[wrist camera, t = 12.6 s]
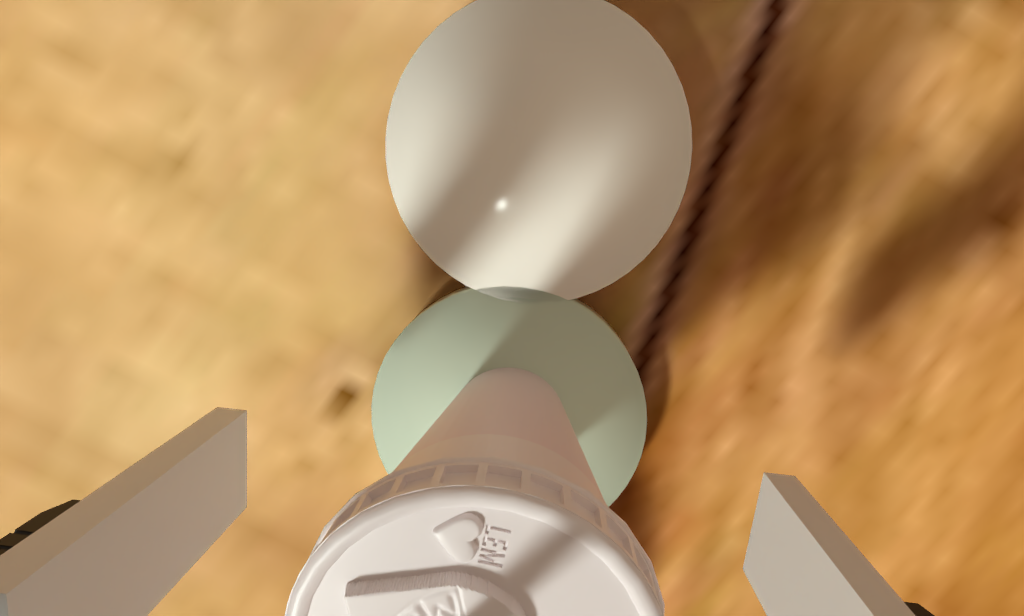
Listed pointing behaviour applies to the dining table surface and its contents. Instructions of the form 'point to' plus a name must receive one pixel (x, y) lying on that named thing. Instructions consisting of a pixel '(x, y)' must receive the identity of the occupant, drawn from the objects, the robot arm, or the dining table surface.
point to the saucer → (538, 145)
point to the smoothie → (482, 523)
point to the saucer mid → (524, 345)
